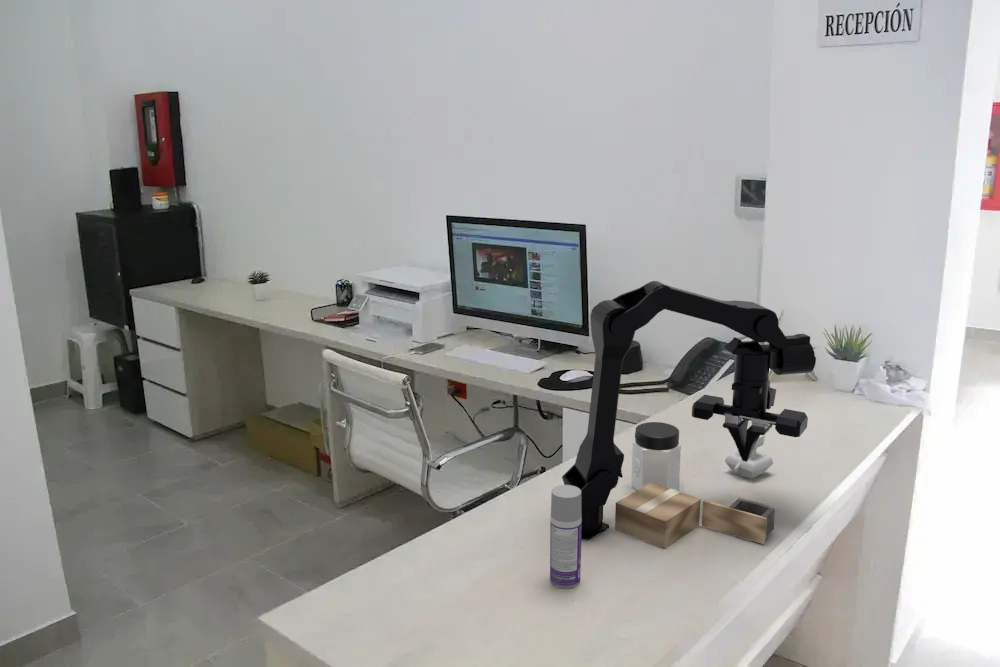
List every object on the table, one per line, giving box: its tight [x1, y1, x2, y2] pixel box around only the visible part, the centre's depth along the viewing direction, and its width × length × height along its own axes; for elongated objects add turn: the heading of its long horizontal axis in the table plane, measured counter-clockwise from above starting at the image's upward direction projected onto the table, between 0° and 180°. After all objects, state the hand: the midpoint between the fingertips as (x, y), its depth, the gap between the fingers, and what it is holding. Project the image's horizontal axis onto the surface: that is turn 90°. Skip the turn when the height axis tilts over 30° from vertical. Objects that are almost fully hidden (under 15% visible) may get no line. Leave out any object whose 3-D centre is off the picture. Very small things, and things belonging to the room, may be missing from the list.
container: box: [549, 484, 582, 590], centre depth 127 cm, size 5×5×15 cm
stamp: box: [724, 434, 774, 479], centre depth 165 cm, size 9×7×8 cm
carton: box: [614, 482, 702, 549], centre depth 144 cm, size 11×10×5 cm
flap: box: [701, 497, 776, 545], centre depth 143 cm, size 11×5×5 cm, turn 53°
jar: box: [630, 421, 682, 491], centre depth 158 cm, size 9×8×12 cm
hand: (745, 460), depth 147 cm, fingers closed
